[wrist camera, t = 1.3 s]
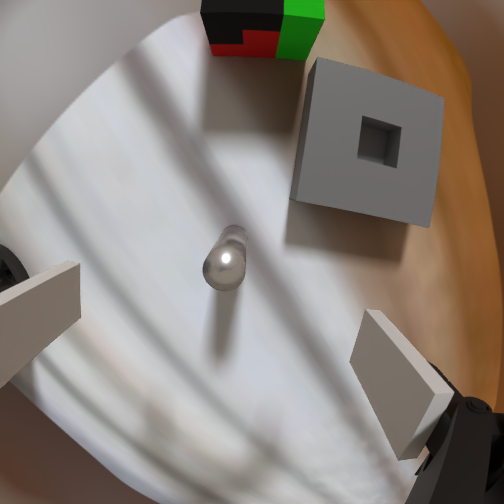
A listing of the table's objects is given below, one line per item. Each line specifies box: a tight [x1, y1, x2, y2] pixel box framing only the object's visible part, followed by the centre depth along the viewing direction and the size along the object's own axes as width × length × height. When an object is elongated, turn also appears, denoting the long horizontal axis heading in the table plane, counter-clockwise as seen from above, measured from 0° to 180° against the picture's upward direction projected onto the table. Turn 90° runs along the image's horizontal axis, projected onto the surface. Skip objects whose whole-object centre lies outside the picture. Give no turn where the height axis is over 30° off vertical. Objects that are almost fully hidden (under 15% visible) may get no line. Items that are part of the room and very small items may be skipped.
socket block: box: [289, 57, 444, 228], centre depth 29 cm, size 14×14×5 cm
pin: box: [203, 225, 248, 291], centre depth 27 cm, size 3×3×13 cm
